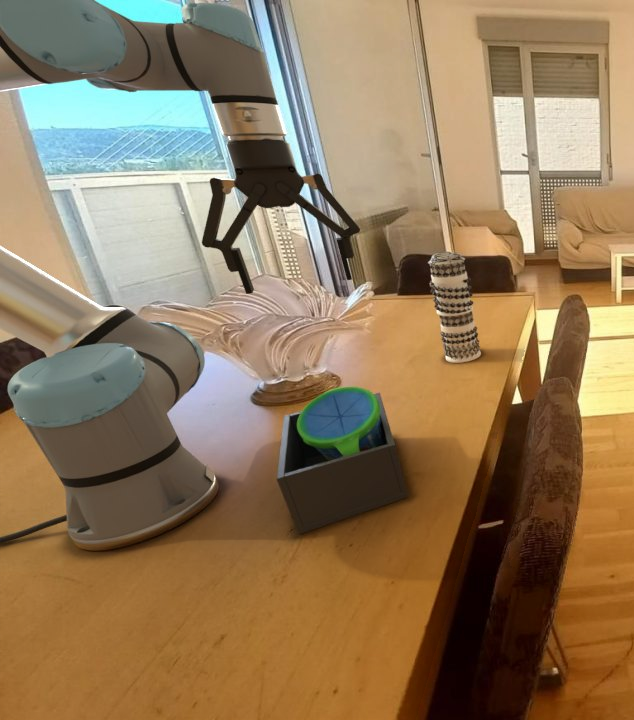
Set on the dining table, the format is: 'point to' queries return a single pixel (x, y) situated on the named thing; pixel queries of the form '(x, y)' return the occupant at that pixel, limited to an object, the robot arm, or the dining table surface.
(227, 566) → the dining table surface
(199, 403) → the dining table surface
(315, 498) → the waste bin
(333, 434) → the snack cup
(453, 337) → the decorative candle
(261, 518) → the dining table surface
